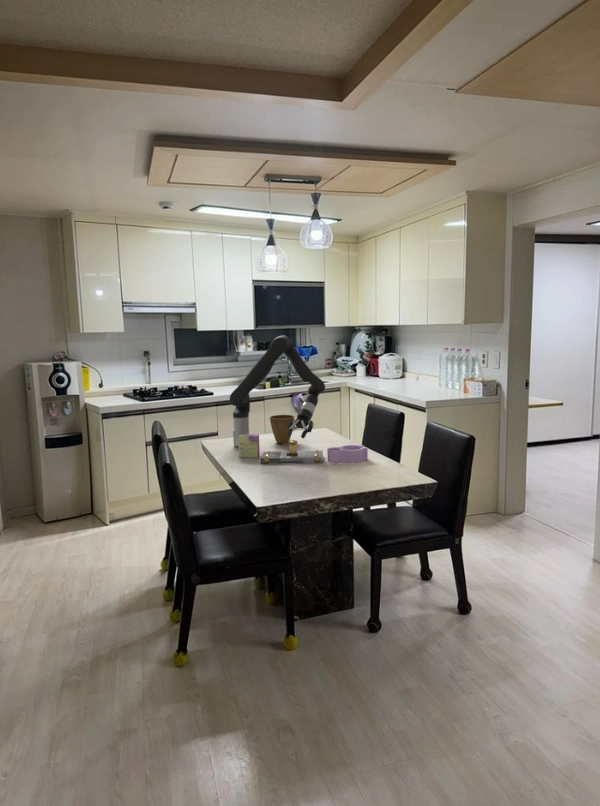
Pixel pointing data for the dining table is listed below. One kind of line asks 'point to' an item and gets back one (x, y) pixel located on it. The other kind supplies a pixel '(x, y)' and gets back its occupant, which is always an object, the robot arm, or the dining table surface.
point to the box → (248, 445)
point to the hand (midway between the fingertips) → (295, 436)
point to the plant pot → (281, 427)
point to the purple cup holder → (347, 454)
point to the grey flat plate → (292, 457)
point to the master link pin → (292, 448)
